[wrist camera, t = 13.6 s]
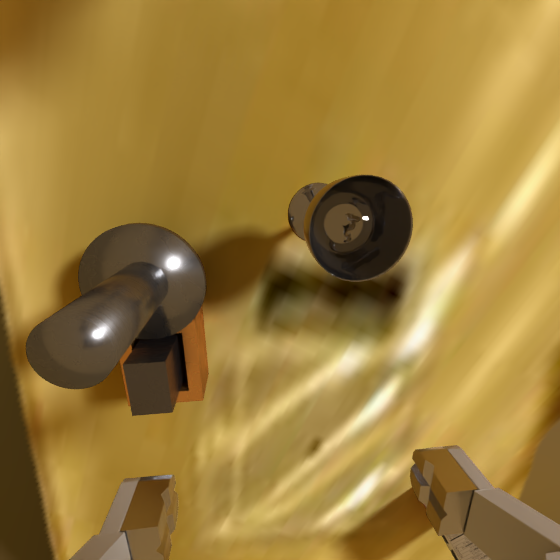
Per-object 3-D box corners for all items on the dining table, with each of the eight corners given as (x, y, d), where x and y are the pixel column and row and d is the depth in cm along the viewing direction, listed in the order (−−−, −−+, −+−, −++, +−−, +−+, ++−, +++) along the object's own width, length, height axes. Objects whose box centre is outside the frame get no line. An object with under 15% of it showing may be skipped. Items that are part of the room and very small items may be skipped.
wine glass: (362, 206, 37) (434, 218, 23) (322, 258, 38) (366, 300, 24) (312, 164, 35) (356, 150, 21) (271, 221, 36) (287, 243, 22)
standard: (101, 218, 34) (-80, 257, 15) (208, 215, 36) (163, 250, 16) (130, 378, 41) (28, 547, 22) (221, 372, 42) (199, 527, 23)
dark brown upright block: (153, 320, 39) (122, 364, 29) (185, 318, 39) (165, 361, 30) (159, 361, 40) (132, 415, 31) (189, 359, 41) (172, 412, 31)
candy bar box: (460, 508, 55) (543, 635, 40) (436, 521, 56) (509, 652, 40) (438, 471, 52) (520, 594, 36) (412, 485, 52) (482, 612, 37)
